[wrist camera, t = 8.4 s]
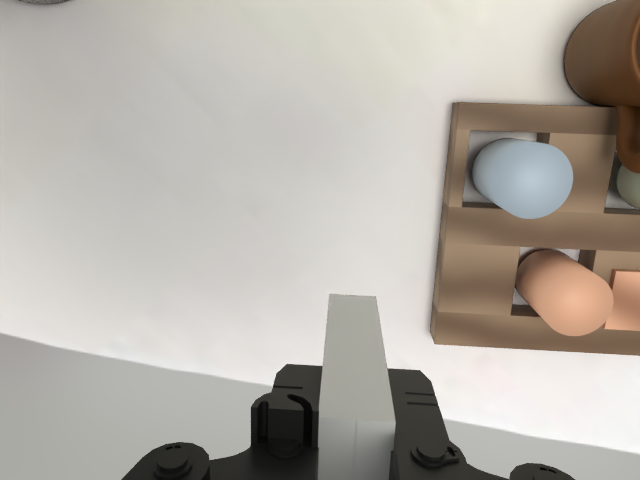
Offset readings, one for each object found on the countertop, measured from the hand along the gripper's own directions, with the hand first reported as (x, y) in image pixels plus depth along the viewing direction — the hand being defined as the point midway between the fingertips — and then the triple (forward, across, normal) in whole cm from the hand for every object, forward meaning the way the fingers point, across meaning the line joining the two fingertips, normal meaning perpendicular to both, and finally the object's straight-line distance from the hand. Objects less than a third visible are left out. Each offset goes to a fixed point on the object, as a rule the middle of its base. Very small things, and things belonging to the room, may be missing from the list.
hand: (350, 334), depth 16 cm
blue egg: (+24, +12, +3) cm, 27 cm away
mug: (+27, +20, +10) cm, 34 cm away
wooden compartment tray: (+26, +18, -2) cm, 32 cm away
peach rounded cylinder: (+25, +17, -6) cm, 31 cm away
